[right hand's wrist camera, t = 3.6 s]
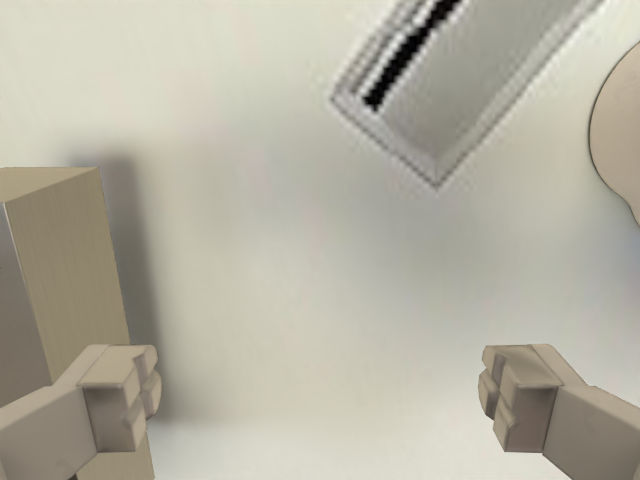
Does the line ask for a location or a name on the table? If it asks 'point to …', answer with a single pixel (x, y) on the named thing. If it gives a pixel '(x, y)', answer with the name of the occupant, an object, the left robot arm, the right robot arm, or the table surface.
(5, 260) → the box
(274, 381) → the table surface
